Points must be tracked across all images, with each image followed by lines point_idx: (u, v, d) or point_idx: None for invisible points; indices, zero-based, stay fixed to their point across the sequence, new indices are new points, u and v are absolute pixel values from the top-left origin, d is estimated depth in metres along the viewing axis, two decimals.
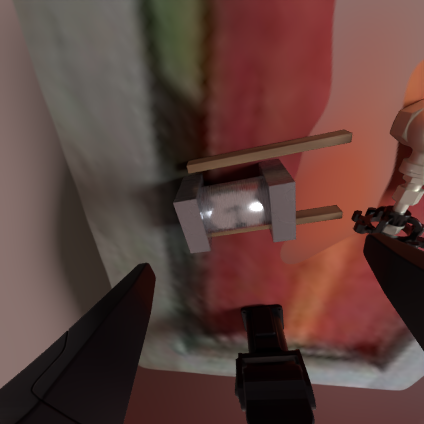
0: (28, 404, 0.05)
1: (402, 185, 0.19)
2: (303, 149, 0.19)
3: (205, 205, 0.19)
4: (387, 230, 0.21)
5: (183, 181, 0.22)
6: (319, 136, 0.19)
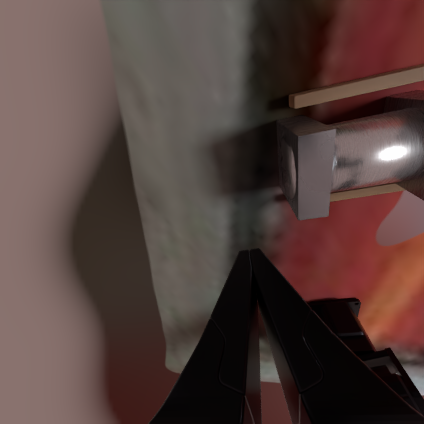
0: (230, 399, 0.04)
1: None
2: None
3: None
4: None
5: (282, 122, 0.16)
6: None
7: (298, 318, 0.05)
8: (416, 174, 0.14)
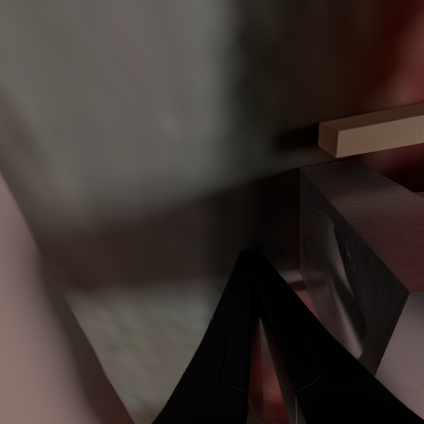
0: (233, 399, 0.04)
1: None
2: None
3: None
4: None
5: (317, 180, 0.07)
6: None
7: (295, 318, 0.05)
8: None
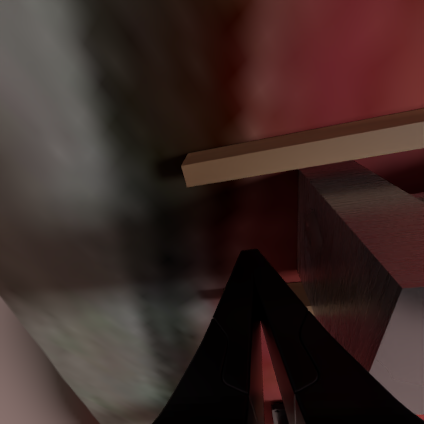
0: (234, 398, 0.04)
1: None
2: None
3: None
4: None
5: (315, 181, 0.07)
6: None
7: (294, 318, 0.05)
8: None
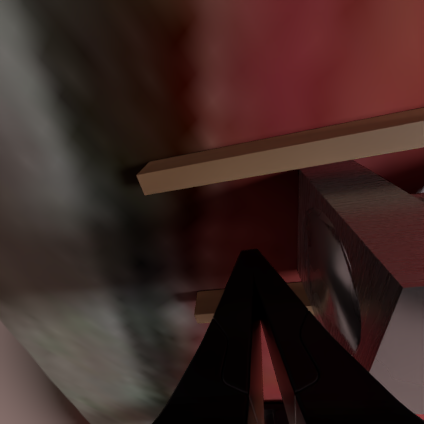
0: (234, 399, 0.04)
1: None
2: None
3: None
4: None
5: (316, 181, 0.07)
6: None
7: (295, 318, 0.05)
8: None
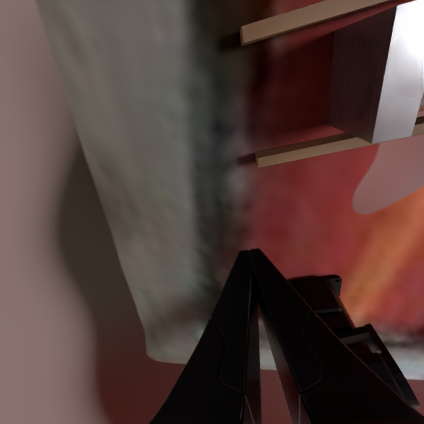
0: (230, 399, 0.04)
1: None
2: None
3: None
4: None
5: None
6: None
7: (298, 318, 0.05)
8: None
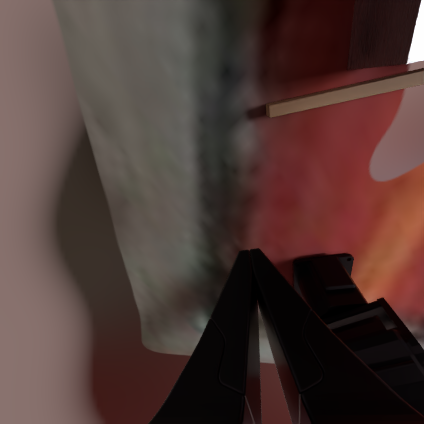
0: (230, 399, 0.04)
1: None
2: None
3: None
4: None
5: None
6: None
7: (298, 318, 0.05)
8: None
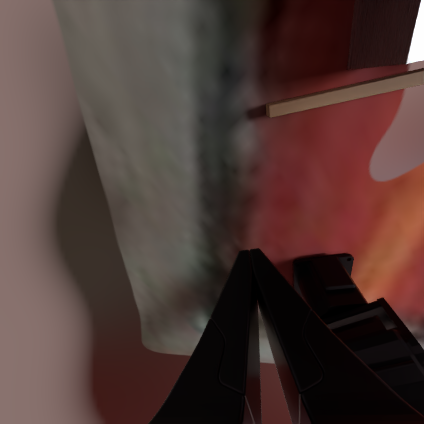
0: (230, 399, 0.04)
1: None
2: None
3: None
4: None
5: None
6: None
7: (298, 318, 0.05)
8: None
